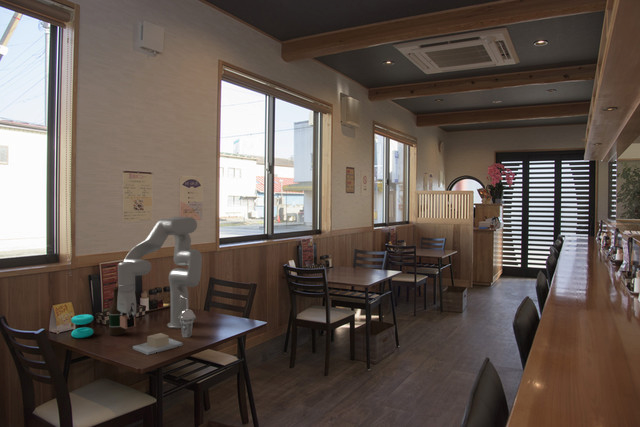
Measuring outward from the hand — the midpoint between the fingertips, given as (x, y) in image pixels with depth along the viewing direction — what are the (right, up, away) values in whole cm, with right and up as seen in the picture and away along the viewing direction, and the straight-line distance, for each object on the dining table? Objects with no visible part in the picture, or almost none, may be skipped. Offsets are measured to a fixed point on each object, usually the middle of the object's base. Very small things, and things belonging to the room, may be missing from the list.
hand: (127, 325), depth 216 cm
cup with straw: (+24, -9, +15) cm, 29 cm away
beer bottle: (-13, -9, +17) cm, 23 cm away
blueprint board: (+15, -9, -3) cm, 18 cm away
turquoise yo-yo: (-29, -9, +14) cm, 33 cm away
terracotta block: (0, -1, 0) cm, 1 cm away
